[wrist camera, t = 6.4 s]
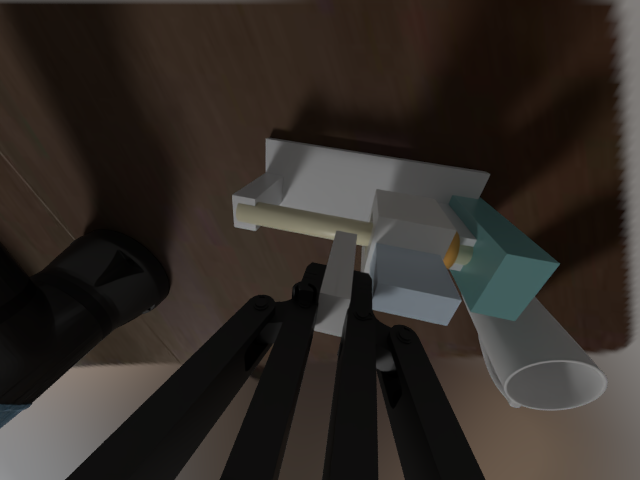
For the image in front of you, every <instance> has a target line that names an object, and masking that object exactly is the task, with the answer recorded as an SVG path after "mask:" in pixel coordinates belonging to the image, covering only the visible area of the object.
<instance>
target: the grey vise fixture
mask: <svg viewBox="0 0 640 480" xmlns="http://www.w3.org/2000/svg"><path fill="white" fill-rule="evenodd" d="M489 176H490V174H489V173H488V172H485V171H479V170H473V169H466V168H460V167H453V166H447V165H441V164H434V163H428V162H422V161H415V160H409V159H403V158H396V157H390V156H383V155H377V154H371V153H364V152H358V151H352V150H345V149H339V148H333V147H326V146H320V145H314V144H307V143H301V142H294V141H288V140H282V139H275V138H266V173H265V174H263V175H262V176H260V177H259V178H257V179H256V180H254V181H253V182H251V183H249V184H248V185H246V186H245V187H243V188H242V189H240V190H239V191H237V192H236V193H234V194H233V195H232V201H233V214H234V227H238V228H243V229H248V230H253V231H256V230H257V229H258V228H259V227H260V226H265V227H270V228H275V229H280V230H285V231H291V232H296V233H301V234H306V235H311V236H316V237H321V238H327V239H332V240H334V238H335V234H336V230H337V231H343V232H348V233H353V234H357V241H356V244H357V245H363V246H368V244H369V240H370V236H371V232H372V228H373V223H371V222H368V220H369V216H370V212H371V208H372V204H373V200H374V196H375V192H376V189H380V190H386V191H392V192H398V193H404V194H410V195H415V196H421V197H427V198H433V199H435V200H436V201H437V203H438V204H439V206H440V207H441V209H442V210H443V211H444V213H445V214H446V216H447V217H448V219H449V220H450V221H451V223H452V224H453V226H454V227H455V229H456V230H457V231H456V233H455V235H454V237H453V240H452V242H451V244H450V246H449V248H448V250H447V252H446V255H445V257H444V259H443V262H444V264H445V266H446V268H447V269H450V271H451V273H452V275H453V277H454V279H455V281H456V283H457V285H458V287H459V289H460V291H461V293H462V295H463V298H464V300H465V302H466V304H467V306H468V308H469V310H470V312H473V313H478V314H483V315H488V316H492V317H497V318H502V319H506V320H511V321H516V319H517V318H518V317H519V316H520V314H521V313H522V312H523V311H524V309H525V308H526V307H527V305H528V304H529V303H530V302H531V300H532V299H533V298H534V297H535V295H536V294H537V293H538V292H539V290H540V289H541V288H542V286H543V285H544V284H545V283H546V281H547V280H548V279H549V278H550V276H551V275H552V274H553V272H554V271H555V270H556V269H557V267H558V266H559V265H560V263H559V262H557V261H556V260H555V259H554V258H553V257H551V256H550V255H549V254H548V253H547V252H545V251H544V250H543V249H542V248H541V247H539V246H538V245H537V244H536V243H535V242H533V241H532V240H531V239H530V238H529V237H527V236H526V235H525V234H524V233H523V232H521V231H520V230H519V229H518V228H517V227H515V226H514V225H513V224H512V223H510V222H509V221H508V220H507V219H506V218H504V217H503V216H502V215H501V214H500V213H498V212H497V211H496V210H495V209H494V208H492V207H491V206H490V205H489V204H488V203H486V202H485V201H484V200H483V199H482V198H480V195H481V193H482V191H483V189H484V187H485V185H486V183H487V181H488V179H489Z"/></svg>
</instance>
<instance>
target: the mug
mask: <svg viewBox="0 0 640 480" xmlns="http://www.w3.org/2000/svg"><path fill="white" fill-rule="evenodd" d="M461 294H462V293H461ZM462 297H463V295H462ZM463 300H464V298H463ZM464 302H465V300H464ZM465 304H466V302H465ZM466 306H467V304H466ZM467 309H468V312H469V314H470V316H471V318H472V320H473V323H474V325H475V327H476V329H477V332H478V338H479V342H480V346H481V350H482V353H483V357H484V360H485V363H486V366H487V369H488V371H489V374H490V376H491V378H492V380H493V382H494V383H495V385H496V387H497V388H498V389H499V391H500V392H501V393H502V394H503V395H504V397H505V398H506V399H507V401H508V403H509V405H510V406H512V407H515V408H519V407H521V406H524V407H527V408H531V409H537V410H564V409H571V408H575V407H579V406H582V405H585V404H587V403H590V402H592V401H594V400H596V399H597V398H598V397H600V396H601V395H602V394H603V393H604V391H605V390H606V388H607V385H608V380H607V377H606V375H605V374H604V373H603V371H601V370H600V369H599V368H598V366H597V365H596V364H595V363H594V362H593V361H592V359H591V358H590V357H589V356H588V355H587V354H586V352H585V351H584V350H583V349H582V348H581V347H580V346H579V345H578V344H577V342H576V341H575V340H574V339H573V338H572V337H571V336H570V335H569V334H568V333H567V331H566V330H565V329H564V328H563V327H562V326H561V325H560V324H559V323H558V322H557V321H556V319H555V318H554V317H553V316H552V315H551V314H550V313H549V312H548V311H547V310H546V308H545V307H544V306H543V305H542V304H541V303H540V302H539V301H538V300H537V299H536V297H534V298H533V299H532V300H531V302H530V303H529V304H528V305H527V307H526V308H525V309H524V311H523V312H522V313H521V314H520V316H519V317H518V318H517V319H516V321H511V320H506V319H502V318H497V317H492V316H488V315H483V314H478V313H473V312H470V310H469V308H468V306H467Z"/></svg>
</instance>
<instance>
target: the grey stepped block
mask: <svg viewBox="0 0 640 480" xmlns="http://www.w3.org/2000/svg"><path fill="white" fill-rule="evenodd" d="M368 222H371V223H373V228H372V232H371V236H370V240H369V244H368V246H363V245H362V258H361V272H364V273H369V275H370V277H371V279H372V310H377V311H381V312H386V313H390V314H395V315H399V316H404V317H409V318H413V319H418V320H422V321H427V322H431V323H436V324H441V325H445V326H447V325H448V323H449V321H450V320H451V318H452V316H453V314H454V313H455V311H456V309H457V308H458V306H459V304H460V302H461V301H462V300H461V298H460V296H459V294H458V292H457V289H456V287H455V285H454V283H453V281H452V279H451V277H450V275H449V273H448V270H447V268H446V266H445V264H444V262H443V259H444V257H445V255H446V252H447V250H448V248H449V246H450V244H451V242H452V240H453V237H454V235H455V233H456V231H457V230H456V229H455V227H454V226H453V224H452V223H451V221H450V220H449V219H448V217H447V216H446V214H445V213H444V211H443V210H442V209H441V207H440V206H439V204H438V203H437V201H436V200H435V199H433V198H427V197H421V196H415V195H410V194H404V193H398V192H392V191H386V190H380V189H376V192H375V196H374V200H373V204H372V208H371V212H370V216H369V220H368Z"/></svg>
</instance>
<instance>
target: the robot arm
mask: <svg viewBox="0 0 640 480" xmlns="http://www.w3.org/2000/svg"><path fill="white" fill-rule="evenodd" d="M356 241H357V234H353V233H348V232H343V231H337V230H336V234H335V238H334V241H333V245H332V249H331V253H330V256H329V260H328V264H327V265H323V264H318V263H313V262H312V263H311V264H310V265H308V266H307V268H306V271H305V273H304V276H303V279H302V281H301V282H298V283H296V284H295V285H294V286H293V290H292V299H291V300H288V301H284V302H275V301H274V300H273V298H271V297H270V296H267V295H257V296H254V297H253V298H251V299H250V300H249V301H248V302H247V303H246V304H245V305H244V306H243V307H242V308H241V309H240V310H238V311H237V312H236V313H235V314H234V315H233V316H232V317H231V318H230V319H229V320H228V321H227V322H226V323H225V324H224V325H223V326H222V327H221V328H220V329H219V330H218V331H217V332H216V333H215V334H214V335H213V336H212V337H211V338H210V339H209V340H208V341H207V342H206V343H205V344H204V345H203V346H202V347H201V348H200V349H199V350H198V351H197V352H195V353H194V354H193V355H192V356H191V357H190V358H189V359H188V360H187V361H186V362H185V363H184V364H183V365H182V366H181V367H180V368H179V369H178V370H177V371H176V372H175V373H174V374H173V375H172V376H171V377H170V378H169V379H168V380H167V381H166V382H165V383H164V384H163V385H162V386H161V387H160V388H159V389H158V390H157V391H156V392H155V393H154V394H153V395H151V396H150V397H149V398H148V399H147V400H146V401H145V402H144V403H143V404H142V405H141V406H140V407H139V408H138V409H137V410H136V411H135V412H134V413H133V414H132V415H131V416H130V417H129V418H128V419H127V420H126V421H125V422H124V423H123V424H122V425H121V426H120V427H119V428H118V429H117V430H116V431H115V432H114V433H113V434H111V435H110V436H109V438H108V439H106V440H105V441H104V443H102V444H101V445H100V446H99V447H98V448H97V449H96V450H95V451H94V452H93V453H92V454H91V455H90V456H89V457H88V458H87V459H86V460H85V461H84V462H83V463H82V464H81V465H80V466H79V467H78V468H77V469H76V470H75V471H74V472H73V473H72V474H71V475H70V476H69V477H67V478H66V479H65V480H174V479H175V478H176V476H177V475H178V474H179V473H180V471H181V470H182V468H183V467H184V466H185V464H186V463H187V462H188V460H189V459H190V457H191V456H192V454H193V453H194V452H195V450H196V449H197V448H198V446H199V445H200V444H201V442H202V441H203V439H204V438H205V437H206V435H207V434H208V433H209V431H210V430H211V428H212V427H213V426H214V424H215V423H216V422H217V420H218V419H219V417H220V416H221V415H222V413H223V412H224V411H225V409H226V408H227V406H228V405H229V404H230V402H231V401H232V400H233V398H234V397H235V395H236V394H237V393H238V391H239V390H240V388H241V387H242V386H243V384H244V383H245V382H246V380H247V379H248V378H249V376H250V375H251V373H252V372H253V371H254V369H255V368H256V366H257V365H258V364H259V362H260V361H261V360H262V358H263V357H264V355H265V354H266V353H267V351H268V350H269V349H270V347H271V346H272V344H273V343H274V345H273V348H272V350H271V353H270V355H269V358H268V360H267V363H266V365H265V368H264V370H263V373H262V375H261V378H260V380H259V383H258V386H257V388H256V390H255V393H254V396H253V398H252V401H251V403H250V406H249V408H248V411H247V413H246V416H245V418H244V421H243V423H242V426H241V428H240V431H239V433H238V436H237V438H236V441H235V443H234V446H233V448H232V451H231V453H230V456H229V458H228V461H227V463H226V466H225V468H224V471H223V473H222V476H221V478H220V480H278V477H279V473H280V469H281V465H282V461H283V457H284V453H285V449H286V445H287V441H288V437H289V432H290V428H291V424H292V420H293V416H294V412H295V408H296V404H297V400H298V395H299V392H300V387H301V383H302V379H303V375H304V371H305V367H306V363H307V359H308V355H309V351H310V347H311V342H312V338H313V332H314V331H318V332H322V333H327V334H331V335H335V336H339V337H341V336H342V337H341V342H340V346H339V350H338V354H337V355H338V361H337V370H336V377H335V385H334V392H333V400H332V407H331V415H330V423H329V430H328V439H327V446H326V453H325V461H324V469H323V477H322V480H378V444H377V443H378V440H377V396H376V395H377V389H376V370H377V374H378V378H379V382H380V386H381V389H382V393H383V397H384V401H385V405H386V409H387V413H388V416H389V420H390V424H391V428H392V431H393V436H394V439H395V443H396V447H397V451H398V455H399V458H400V462H401V466H402V470H403V474H404V478H405V480H485V478H484V476H483V473H482V471H481V469H480V467H479V465H478V463H477V461H476V459H475V457H474V455H473V452H472V450H471V448H470V446H469V444H468V442H467V440H466V437H465V435H464V433H463V431H462V429H461V427H460V425H459V422H458V420H457V418H456V416H455V414H454V412H453V410H452V408H451V405H450V403H449V401H448V399H447V397H446V395H445V393H444V391H443V388H442V386H441V384H440V382H439V380H438V378H437V376H436V374H435V372H434V369H433V367H432V365H431V363H430V361H429V359H428V357H427V354H426V352H425V350H424V348H423V346H422V344H421V342H420V340H419V337H418V336H417V334H416V333H415V332H414V331H413V330H412V329H411V328H409V327H407V326H404V325H394V326H393V327H392V328H390V327H388V326H386V325H384V324H383V323H381V322H380V321H379V320H377V319H376V317H375V316H374V313H373V310H372V279H371V277H370V275H369V273H364V272H359V271H354V261H355V251H356ZM168 292H169V282H168V278H167V276H166V273H165V271H164V269H163V268H162V266H161V265H160V263H159V262H158V261H157V259H156V258H155V257H154V256H153V255H152V254H151V253H150V252H149V251H148V250H147V249H146V248H144V247H143V246H142V245H141V244H139V243H138V242H136V241H135V240H133V239H131V238H129V237H127V236H125V235H123V234H121V233H118V232H114V231H110V230H96V231H92V232H90V233H88V234H86V235H84V236H81V237H79V238H78V239H76V240H74V241H73V242H72V243H71V244H70V246H69V247H68V248H66V249H65V250H64V251H63V252H62V253H61V254H60V255H58V256H57V257H56V258H55V259H54V260H53V261H52V262H51V263H50V264H49V265H48V266H46V267H45V268H44V269H43V270H42V271H40V272H39V273H37V274H35V275H33V276H31V277H28V275H27V274H26V273H25V272H24V270H23V269H22V268H21V267H20V265H19V264H18V263H17V262H16V260H15V259H14V258H13V257H12V256H11V254H10V253H9V252H8V251H7V249H6V248H5V247H4V246H3V244H2V243H1V242H0V428H1V427H3V426H4V425H5V424H6V423H8V422H9V421H10V420H11V419H12V418H14V417H15V416H16V415H17V414H19V413H20V412H21V411H22V410H24V409H27V408H28V407H30V405H31V404H32V402H33V401H35V400H36V399H37V398H38V397H39V396H40V395H41V394H42V393H44V392H45V391H46V390H47V389H48V388H49V387H50V386H51V385H52V384H54V383H55V382H56V381H57V380H58V379H59V378H60V377H61V376H63V375H64V374H65V373H66V372H67V371H68V370H69V369H70V368H71V367H73V366H74V365H75V364H76V363H77V362H78V361H79V360H80V359H81V358H83V357H84V356H85V355H86V354H87V353H88V352H89V351H90V350H92V349H93V348H94V347H95V346H96V345H97V344H98V343H99V342H100V341H102V340H103V339H104V338H105V337H106V336H107V335H108V334H110V333H111V332H112V331H113V330H114V329H116V328H118V327H120V326H122V325H124V324H126V323H128V322H129V321H131V320H133V319H135V318H137V317H138V316H140V315H141V314H144V313H147V312H149V311H151V310H153V309H154V308H156V307H157V306H158V305H159V304H160V303H161V302H162V301H163V300H164V299H165V298H166V297H167V295H168Z"/></svg>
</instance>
